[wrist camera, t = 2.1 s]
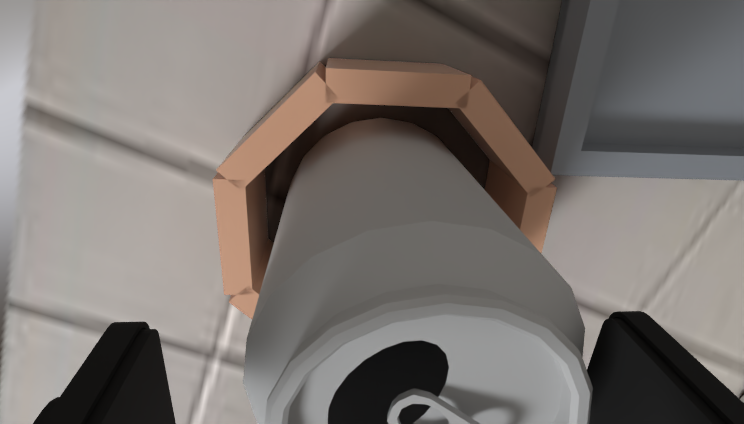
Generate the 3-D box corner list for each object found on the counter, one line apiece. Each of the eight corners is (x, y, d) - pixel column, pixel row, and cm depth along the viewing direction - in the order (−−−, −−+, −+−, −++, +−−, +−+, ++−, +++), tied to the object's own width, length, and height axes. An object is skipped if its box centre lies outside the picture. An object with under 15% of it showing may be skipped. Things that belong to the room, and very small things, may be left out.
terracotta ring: (529, 68, 17) (583, 80, 13) (483, 308, 22) (514, 366, 18) (232, 52, 16) (201, 61, 12) (250, 308, 21) (231, 370, 17)
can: (359, 74, 17) (403, 174, 6) (495, 181, 19) (716, 400, 8) (256, 217, 19) (145, 493, 8) (390, 298, 21) (450, 600, 10)
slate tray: (931, -164, 15) (1015, -190, 13) (781, 167, 20) (826, 182, 18) (603, -201, 14) (644, -235, 12) (529, 160, 19) (550, 175, 17)
